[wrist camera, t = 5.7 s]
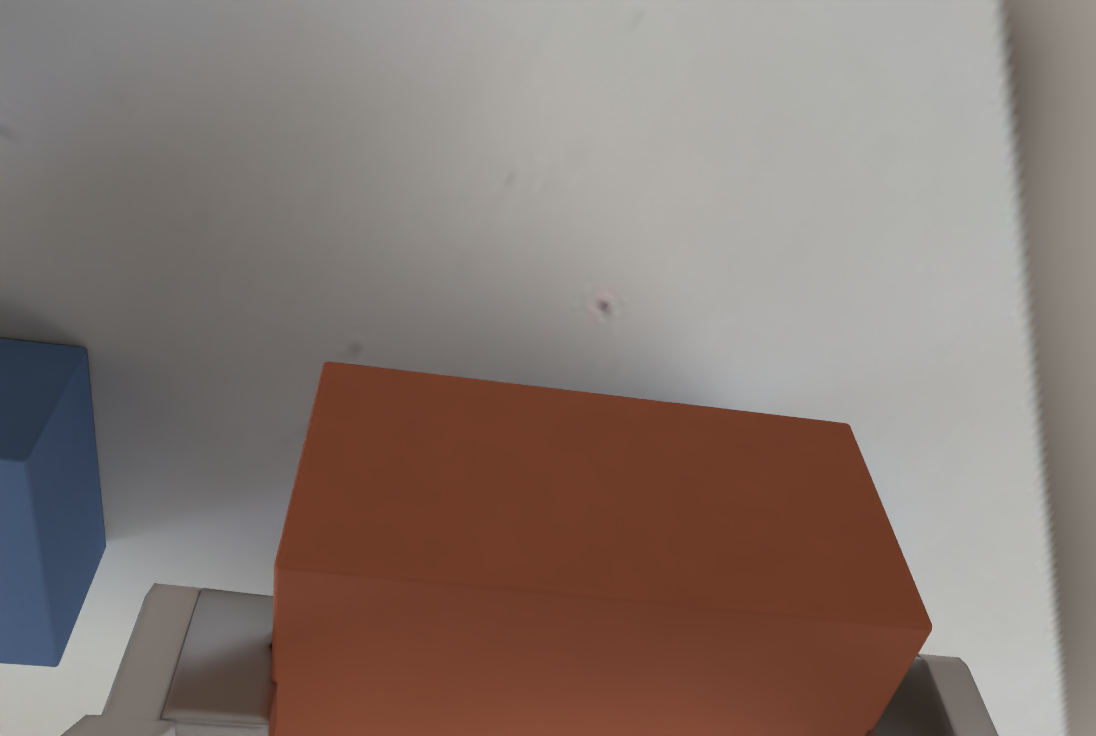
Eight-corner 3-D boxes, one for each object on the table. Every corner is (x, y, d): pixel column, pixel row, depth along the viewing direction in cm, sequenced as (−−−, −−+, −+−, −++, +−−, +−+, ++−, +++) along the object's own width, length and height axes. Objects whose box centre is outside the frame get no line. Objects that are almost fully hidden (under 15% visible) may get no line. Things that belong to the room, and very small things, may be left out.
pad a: (849, 421, 12) (936, 628, 10) (732, 689, 15) (775, 900, 13) (324, 358, 11) (272, 565, 9) (306, 654, 14) (265, 869, 12)
